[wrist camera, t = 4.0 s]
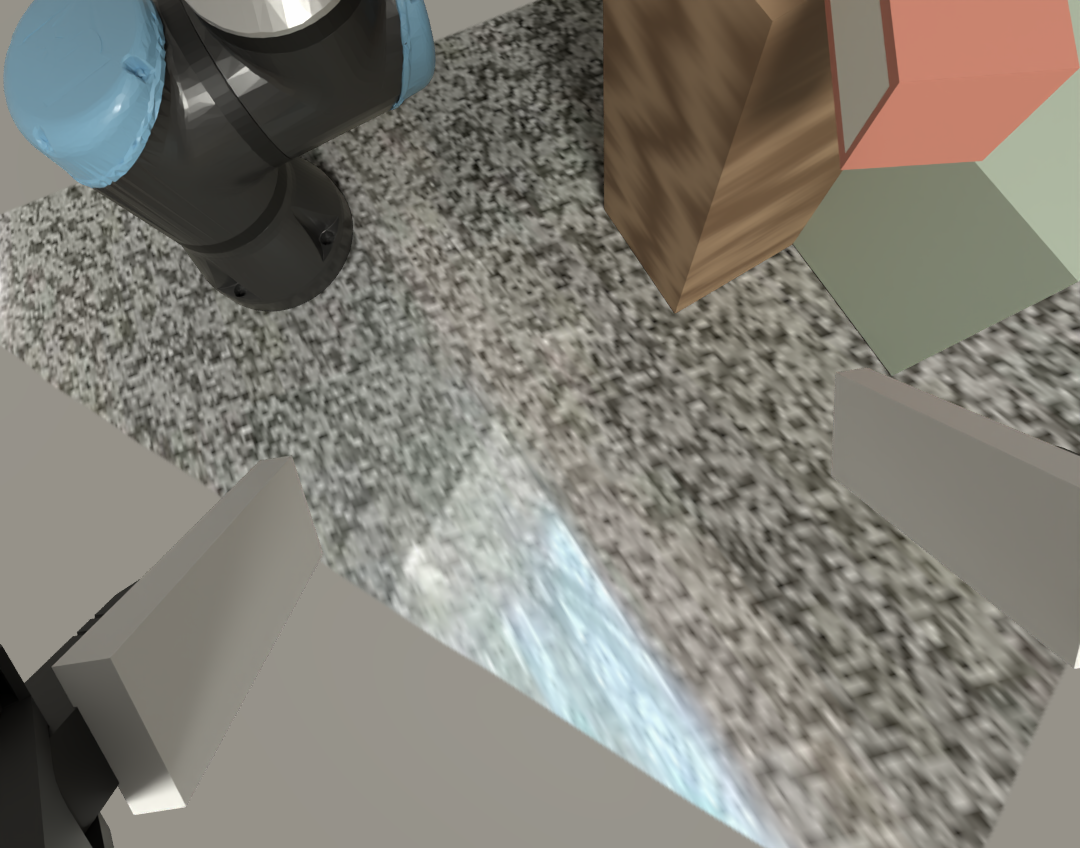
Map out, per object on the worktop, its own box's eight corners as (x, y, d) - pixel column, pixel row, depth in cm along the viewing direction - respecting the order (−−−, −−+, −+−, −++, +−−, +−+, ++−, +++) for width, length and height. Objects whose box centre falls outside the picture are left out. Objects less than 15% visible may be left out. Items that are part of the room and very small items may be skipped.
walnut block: (604, 208, 53) (602, -187, 23) (735, 130, 52) (901, -368, 23) (674, 313, 50) (772, 21, 21) (812, 232, 50) (1108, -180, 21)
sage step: (793, 243, 50) (903, 79, 31) (911, 173, 50) (1094, -34, 31) (891, 375, 47) (1078, 281, 29) (1018, 301, 47) (1288, 158, 28)
